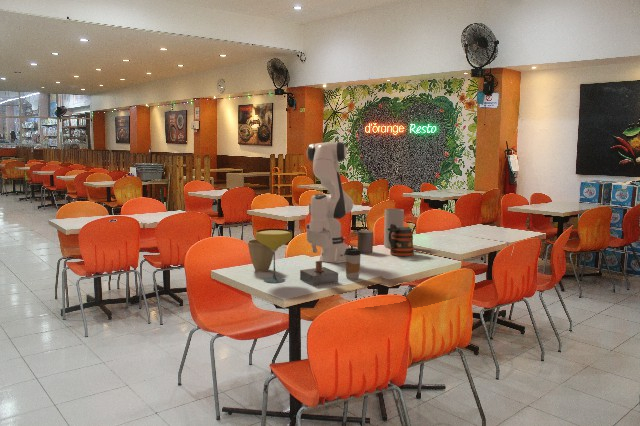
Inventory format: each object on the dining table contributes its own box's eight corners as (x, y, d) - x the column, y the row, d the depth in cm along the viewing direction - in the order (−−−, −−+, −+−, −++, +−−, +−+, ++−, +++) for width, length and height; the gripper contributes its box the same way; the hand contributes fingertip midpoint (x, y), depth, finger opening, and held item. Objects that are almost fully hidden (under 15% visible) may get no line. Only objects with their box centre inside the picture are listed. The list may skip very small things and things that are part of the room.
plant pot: (246, 273, 282) (245, 243, 280) (250, 267, 296) (249, 238, 294) (274, 273, 282) (274, 244, 280) (277, 267, 296) (276, 239, 294)
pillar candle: (354, 252, 336) (354, 229, 334) (362, 250, 344) (363, 227, 342) (367, 254, 330) (368, 231, 328) (375, 252, 338) (376, 229, 336)
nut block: (324, 276, 276) (324, 267, 275) (338, 282, 264) (338, 272, 263) (300, 279, 269) (300, 270, 268) (313, 286, 257) (313, 276, 256)
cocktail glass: (280, 274, 280) (279, 227, 277) (299, 281, 266) (299, 232, 263) (249, 279, 270) (249, 230, 266) (268, 287, 255) (267, 235, 252)
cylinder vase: (386, 244, 363) (386, 208, 360) (404, 245, 359) (405, 209, 356) (382, 248, 351) (383, 210, 348) (401, 249, 347) (402, 211, 344)
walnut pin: (319, 280, 268) (320, 260, 267) (322, 281, 266) (322, 261, 265) (314, 280, 267) (314, 261, 266) (317, 282, 264) (317, 262, 263)
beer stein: (399, 258, 318) (400, 225, 316) (380, 255, 329) (381, 223, 326) (418, 254, 331) (419, 222, 329) (399, 251, 342) (400, 220, 339)
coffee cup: (341, 278, 273) (341, 249, 271) (351, 275, 278) (352, 247, 276) (353, 281, 267) (353, 251, 265) (364, 278, 272) (364, 249, 270)
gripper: (335, 229, 255) (335, 257, 258) (315, 223, 273) (315, 249, 275) (324, 231, 252) (324, 259, 255) (304, 224, 270) (304, 251, 272)
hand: (319, 254), depth 265 cm, fingers open, 8 cm apart
